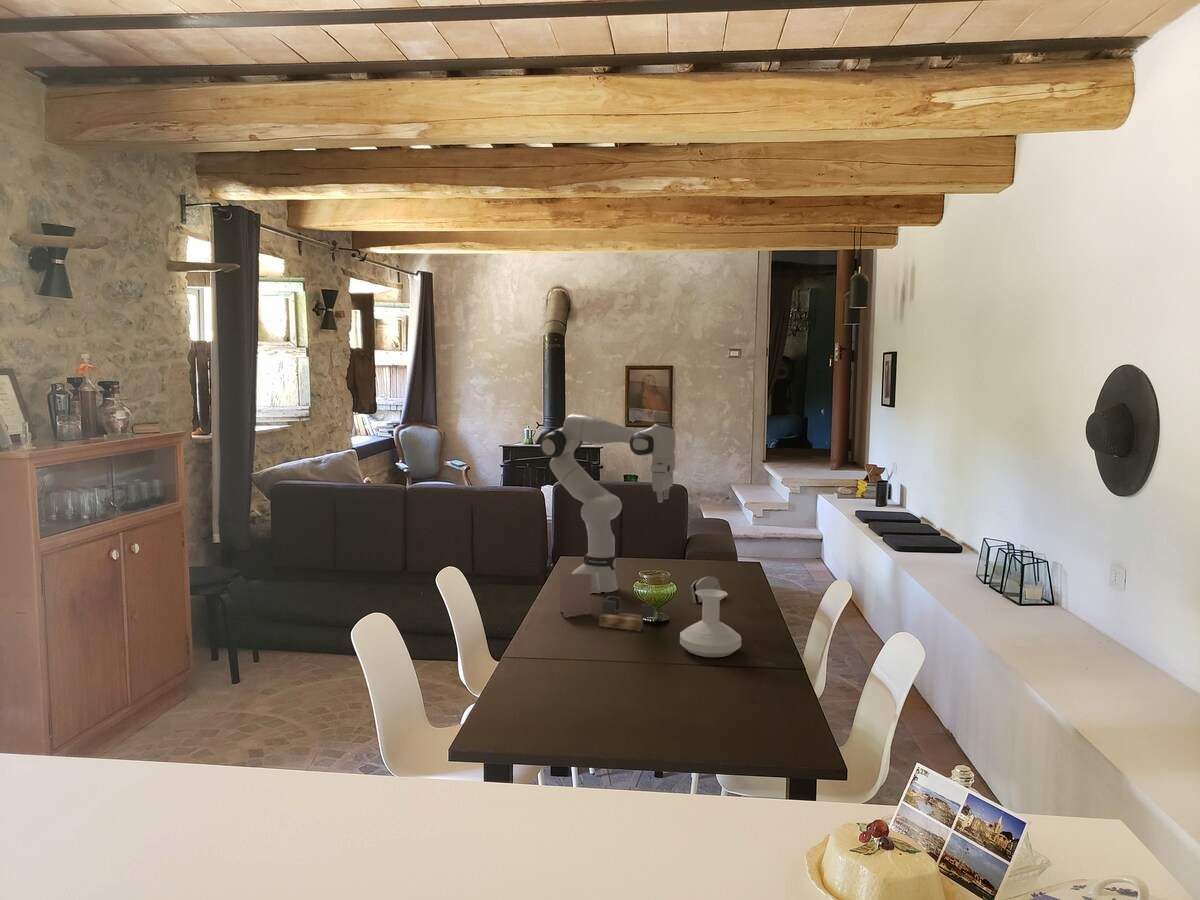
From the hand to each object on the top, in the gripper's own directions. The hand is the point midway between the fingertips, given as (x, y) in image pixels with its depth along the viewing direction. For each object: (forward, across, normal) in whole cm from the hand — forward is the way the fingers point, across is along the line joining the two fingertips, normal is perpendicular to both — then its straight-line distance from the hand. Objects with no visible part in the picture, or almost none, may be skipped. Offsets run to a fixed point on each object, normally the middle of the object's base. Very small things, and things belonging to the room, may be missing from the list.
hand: (663, 500), depth 319 cm
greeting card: (+41, +27, -26) cm, 56 cm away
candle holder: (+41, +50, +28) cm, 71 cm away
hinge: (+41, -12, +16) cm, 46 cm away
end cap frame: (+40, +24, -6) cm, 47 cm away
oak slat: (+41, +36, -6) cm, 55 cm away
